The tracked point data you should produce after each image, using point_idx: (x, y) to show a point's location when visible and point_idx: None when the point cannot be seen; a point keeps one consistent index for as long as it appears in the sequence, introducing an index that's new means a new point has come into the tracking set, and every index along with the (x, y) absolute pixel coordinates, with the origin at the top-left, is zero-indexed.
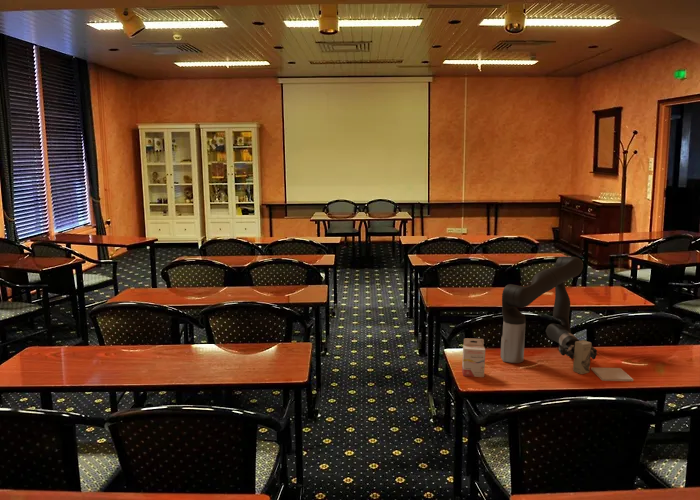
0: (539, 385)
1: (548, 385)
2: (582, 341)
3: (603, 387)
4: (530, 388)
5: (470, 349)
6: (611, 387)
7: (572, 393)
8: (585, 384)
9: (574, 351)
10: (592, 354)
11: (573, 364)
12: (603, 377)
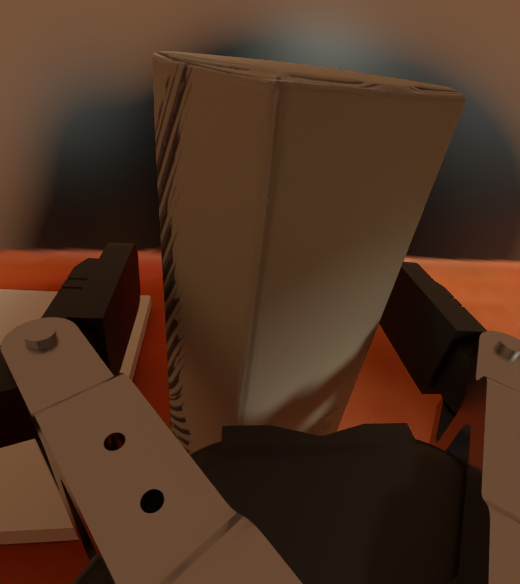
0: (484, 278)
1: (447, 277)
2: (327, 68)
3: None
4: (504, 263)
5: None
6: (150, 254)
7: None
8: None
9: (397, 270)
10: (130, 273)
11: (346, 403)
12: None
